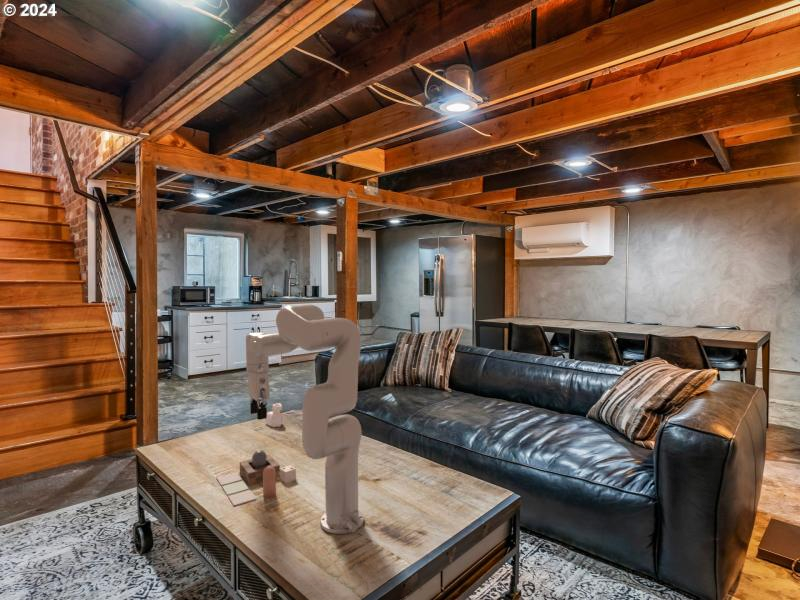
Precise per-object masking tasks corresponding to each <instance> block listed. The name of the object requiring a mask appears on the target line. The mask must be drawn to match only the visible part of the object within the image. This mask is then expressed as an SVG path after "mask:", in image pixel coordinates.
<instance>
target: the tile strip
mask: <svg viewBox="0 0 800 600" xmlns="http://www.w3.org/2000/svg"><path fill="white" fill-rule="evenodd" d="M216 480H217V482H218V484H220V486H221V488H222V490H223V491H224V493H225V495H226V497H228V499H229V501H230V502H231V504H232V506H233V507H236V506H241V505H243V504H246V503H250V502H253V501H256V500H257V497H256V496H255V495H254V493H253V492H252V491H251V489H250V488H249V486H248V485H247V484H246V483H245V482H246V481H244V480H243V479H242V477H241V475H240V473H238V472H237V471H235V472H232V473H228V474H224V475H219V476H217V477H216Z"/></svg>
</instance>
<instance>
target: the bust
mask: <svg viewBox="0 0 800 600" xmlns="http://www.w3.org/2000/svg"><path fill="white" fill-rule="evenodd" d="M282 409H283V404H282V403H280V402H278V403H277V402H276V403H275V404H274V403H272V405H271V410H272V411H268V412H267V418H266V419H264V420H265V424H267V426H269V427H272V428H276V427H277V428H279V427H282V425H283V423H284V421H285V417H284V414H283V413H282V412H281V411H282Z"/></svg>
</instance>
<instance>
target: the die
mask: <svg viewBox="0 0 800 600" xmlns="http://www.w3.org/2000/svg"><path fill="white" fill-rule="evenodd" d="M279 479H280V481H282V482H283V481H284V483H285V484H288V483H291V482H293V481H295V480H297V469H296V467H294V466H292V465H290V464H289V465H286V466H284V467H280V476H279ZM287 482H288V483H287Z"/></svg>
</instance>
